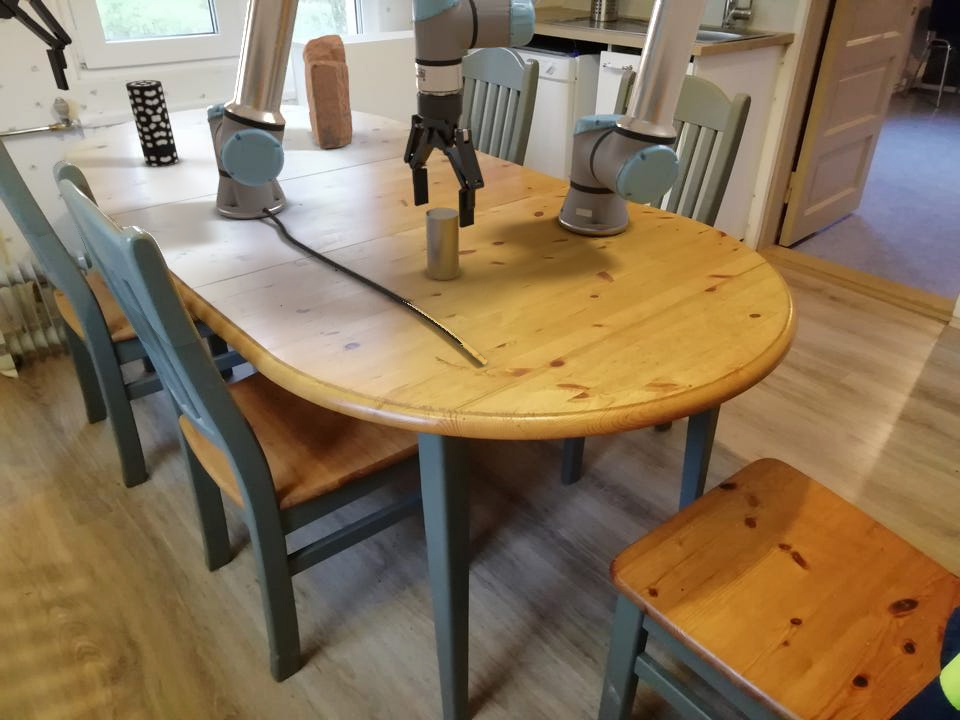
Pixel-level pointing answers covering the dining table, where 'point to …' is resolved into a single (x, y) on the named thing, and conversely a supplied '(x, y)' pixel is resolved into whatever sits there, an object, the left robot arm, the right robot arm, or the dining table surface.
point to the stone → (328, 91)
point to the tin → (442, 243)
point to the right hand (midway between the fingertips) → (443, 214)
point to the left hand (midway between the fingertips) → (24, 95)
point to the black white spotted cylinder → (152, 122)
